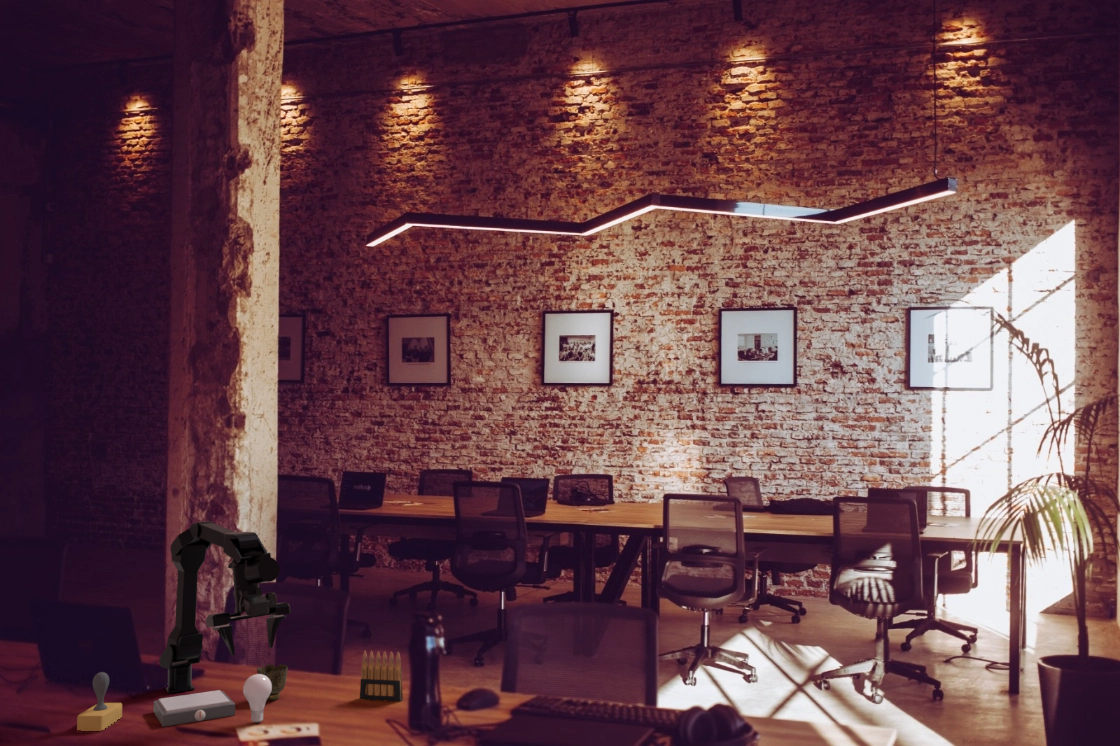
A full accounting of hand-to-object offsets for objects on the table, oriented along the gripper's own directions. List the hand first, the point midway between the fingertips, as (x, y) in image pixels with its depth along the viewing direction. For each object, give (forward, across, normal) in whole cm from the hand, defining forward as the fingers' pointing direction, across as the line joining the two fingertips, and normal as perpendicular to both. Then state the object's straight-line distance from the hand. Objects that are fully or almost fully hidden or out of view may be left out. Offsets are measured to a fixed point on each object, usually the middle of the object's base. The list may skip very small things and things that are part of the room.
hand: (252, 651), depth 227 cm
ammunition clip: (+17, +29, -6) cm, 34 cm away
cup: (+13, +8, +11) cm, 19 cm away
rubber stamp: (+11, -31, +16) cm, 37 cm away
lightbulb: (+16, -2, -4) cm, 17 cm away
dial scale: (+12, -11, +11) cm, 20 cm away
